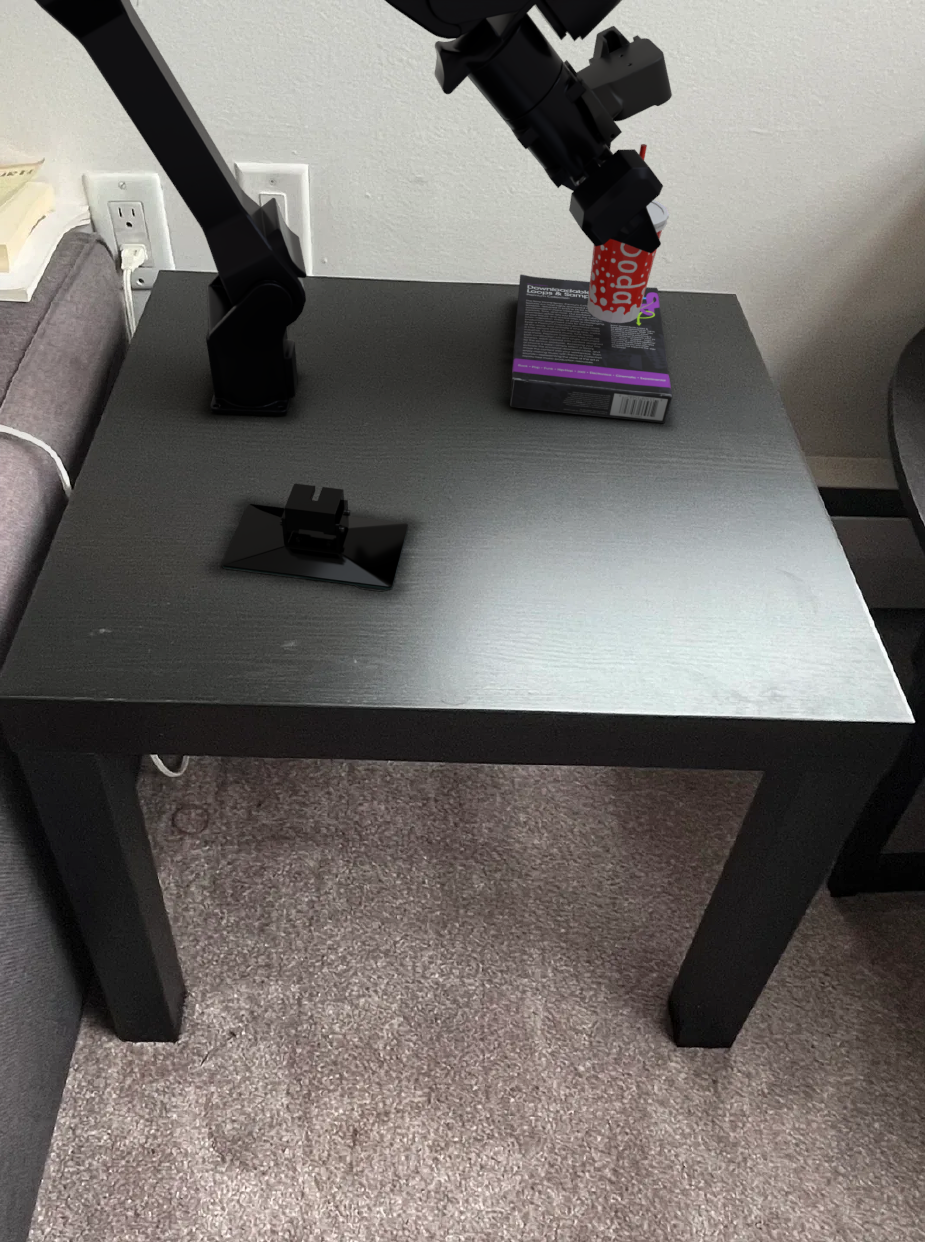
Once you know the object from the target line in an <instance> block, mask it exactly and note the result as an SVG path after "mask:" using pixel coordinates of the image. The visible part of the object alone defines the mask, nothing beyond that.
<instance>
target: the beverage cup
mask: <svg viewBox="0 0 925 1242" xmlns="http://www.w3.org/2000/svg"><path fill="white" fill-rule="evenodd" d="M647 146H648V145H647V144H646V143H641V144H640V147H639V153H638V154H639V155H640V156H641V158H642V159H643V160H644V161H645V158H646V152H647ZM646 207H647V210H648V212H649V215H650V217H651V220H652V222H653V225H654V227H655V230H656V232H657V235H658V237H659V240H661V235H662V233H663V230H665V228H666V226H667V224H668V220H669V218H670V213H669V210H668V208H667V206H665V205H664V204H662V203H661V202H660V201H658V200H656V199H654V200H653V201H652V202H651V203H650V204H649V205H647V206H646ZM592 246H593V247H592V258H591V268H590V278H589V282H590V286H589V296H588V311H589V312H590V313H591V314H592V315H593V316H594V317H596V318H598V319H600V320H603V321H607V322H611V323H625V322H630V321H632V320H634V319H636V318H637V316H638V315H639V312H640V309H641V305H642V301H643V298H644V294H645V290H646V287H647V286H648V283H649V279H650V276H651V272H652V269H653V264H654V261H655V257H656V254H657V250H658V248H657V249H656V250H655V251H654V252H652V253H648V252H645V251H643V250H640V249H637V248H635V247H632V246H629V245H627V244H624V243H621V242H618V241H615V240H612V239H610V240H608V241H607V242H606V243H605V244H604V245H600V246H595V245H594V244H593V245H592Z"/></svg>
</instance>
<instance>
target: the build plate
mask: <svg viewBox="0 0 925 1242" xmlns="http://www.w3.org/2000/svg"><path fill="white" fill-rule="evenodd" d="M315 493H316V486H315V485H310V484H304V483H303V484H302V483H293V486H292V488H291V491H290V493H289V496H288V497H287V500H286V503H285V505H284V507H279V506H272V505H271V506H270V505H263V504H255V503H249V504H247V506H246V508H245V510H244V512H243V515H242V517H241V519H240V522H239V524H238V526H237V528H236V530H235V533H234V534H233V537H232V539H231V542H230V543H229V546H228V549H227V551H226V552H225V555H224V556H223V557H224V558H223V559H222V561H221V566H222V568H223V569H227V570H233V571H239V572H241V571H242V572H250V573H256V574H264V575H265V574H266V575H272V576H280V577H288V578H296V579H303V580H312V581H320V582H327V583H335V584H343V585H349V586H350V585H351V586H355V587H357V588H358V589H360V590H368V591H375V592H384V591H388V590H393V589H394V584H395V581H396V578H397V577H396V576H397V573H398V570H399V569H398V568H399V565H400V561H401V558H402V553H403V550H404V545H405V542H406V538H407V534H408V531H409V524H408V523H406V522H399V521H391V520H383V519H376V518H375V519H374V518H367V517H359V516H351V509H349V500H348V499H345V490H344V489H343V488H335V487H327V486H322V488H321V490H320V493H319V496H318V498H317V500H313V498H314V495H315Z"/></svg>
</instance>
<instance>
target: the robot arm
mask: <svg viewBox="0 0 925 1242" xmlns="http://www.w3.org/2000/svg"><path fill="white" fill-rule="evenodd" d="M34 1H35V2H36V4H37V5H38V6H39V7H40V8H41V9H42V10H44V12H45V13H47V14H48V16H50V17H51V18H52V19H53V20H54V21H56V22H57V23H58V24H59V25H60V26H62V27H63V28H64V29H65V30H66V31H67V32H68V33H69V34H70V35H72V36H73V37H74V38H75V39H76V40H77V41H78V42H79V43H80V45H81V46H82V47H83V48H84V50H85V51H86V53H87V55H88V56H89V57H90V59H91V61H92V62H93V63H94V65H95V66H96V68H97V70H98V71H99V73H100V74H101V76H102V77H103V79H104V80H105V82H106V84H107V85H108V87H109V88H110V90H111V92H112V93H113V95H114V96H115V98H116V99H117V100H118V102H119V104H120V106H121V107H122V108H123V110H124V112H125V113H126V114H127V116H128V118H129V119H130V120H131V122H132V123H133V125H134V127H135V129H136V130H137V131H138V133H139V134H140V136H141V137H142V139H143V140H144V142H145V144H146V145H147V147H148V148H149V150H150V151H151V153H152V154H153V155H154V158H155V159H156V160H157V162H158V164H159V165H160V167H161V168H162V170H163V171H164V173H165V174H166V176H167V178H168V179H169V180H170V182H171V183H172V185H173V187H174V188H175V189H176V191H177V193H178V194H179V196H180V197H181V199H182V201H183V202H184V204H185V205H186V207H187V208H188V210H189V211H190V212H191V214H192V216H193V217H194V219H195V220H196V222H197V223H198V225H199V227H200V228H201V230H202V232H203V235H204V237H205V240H206V242H207V245H208V248H209V251H210V254H211V258H212V260H213V262H214V266H215V268H216V271H217V273H216V274H215V275H214V276H213V278H211V279H210V281H209V282H208V283H207V284H206V305H207V321H208V322H207V323H208V324H207V325H208V328H207V332H206V336H205V343H206V348H207V349H206V351H207V355H208V361H209V370H210V376H211V382H212V388H213V395H212V399H211V402H210V405H209V406H210V411H211V412H212V413H214V414H230V415H231V414H232V415H233V414H234V415H261V416H285V415H288V413H289V409H290V405H291V399H293V398H295V397H296V393H297V387H298V383H299V377H298V366H297V365H298V364H297V353H296V342H295V341H294V340H293V339H289V337H288V328H289V326H290V325H292V324H293V323H295V322H296V321H297V320H298V319H299V317H300V316H301V315H302V313H303V311H304V307H305V303H306V302H307V298H306V289H305V285H304V280H303V279H305V278H307V276H308V275H307V269H306V265H305V259H304V255H303V250H302V245H301V239H300V237H299V235H298V234H296V233H295V232H294V231H293V230H291V228H290V227H289V225H287V223H286V221H285V220H284V217H283V214H282V211H281V209H280V206H279V203H278V201H277V199H276V198H275V197H272V198H270V199H269V200H268V201H266V202H265V203H264V204H263V205H262V206H261V205H259V204H258V203H257V202H256V201H255V200H254V199H253V198H251V197H250V195H248V194H247V193H246V192H245V191H244V189H243V188H242V187H241V185H240V184H239V182H238V180H237V179H236V177H235V175H234V174H233V172H232V170H231V169H230V167H229V166H228V164H227V162H226V160H225V159H224V157H223V155H222V153H221V152H220V150H219V149H218V147H217V145H216V143H215V142H214V140H213V139H212V137H211V135H210V133H209V131H208V130H207V129H206V127H205V125H204V124H203V122H202V120H201V119H200V117H199V115H198V114H197V112H196V110H195V109H194V107H193V105H192V103H191V102H190V100H189V98H188V97H187V95H186V92H184V90H183V89H182V87H181V85H180V82H178V80H177V78H176V77H175V75H174V73H173V72H172V70H171V68H170V66H169V65H168V64H167V62H166V59H165V58H164V57H163V55H162V53H161V51H160V49H159V48H158V46H157V45H156V43H155V42H154V40H153V38H152V36H151V35H150V33H149V32H148V31H149V30H147V28H146V26H145V25H144V23H143V21H142V19H141V18H140V16H139V14H138V13H137V11H136V10H135V8H134V6H133V4H132V1H131V0H34ZM622 1H623V0H384V2H386V3H387V4H388V5H389V6H391V7H392V8H394V9H395V10H396V11H398V12H399V13H401V14H402V15H403V16H405V17H407V18H408V19H409V20H410V21H413V23H415V24H417V25H418V26H419V27H421V28H422V29H424V30H426V31H427V32H428V33H430V34H432V35H433V36H434V37H437V38H440V39H447V40H449V41H442V40H437V41H435V43H434V49H435V54H436V59H435V68H434V73H433V75H434V77H435V79H436V81H437V83H438V84H439V87H440V88H441V90H442V93H444V94H446V95H451V94H452V93H453V92H455V90H456V89H457V88H458V87H459V86H460V85H461V84H462V82H464V81H465V79H466V78H468V79H469V81H470V82H471V83H472V84H473V85H474V86H475V87H476V89H477V90H478V91H479V92H480V93H481V95H482V97H484V99H486V101H487V102H488V103H489V104H490V106H491V107H492V108H493V109H494V110H495V112H496V113H497V114H498V115H499V116H500V117H501V119H502V121H504V122H505V123H506V125H507V126H508V128H509V129H510V130H511V132H512V133H513V135H514V137H515V138H516V139H517V141H518V142H519V143H520V144H521V146H522V147H523V149H525V150H528V151H529V153H530V154H531V155H532V156H533V158H534V159H535V160H536V161H537V162H538V163H539V164H540V166H541V167H542V168H543V170H544V172H545V173H546V174H547V176H548V178H549V180H551V182H552V183H553V184H554V185H555V187H556V188H557V189H559V188H561V186H563V187H565V188H567V189H568V190H570V191H572V192H571V195H570V200H569V208H568V211H569V213H570V214H571V216H572V217H573V219H574V221H575V222H576V223H577V225H578V227H579V228H580V230H581V231H582V232H583V234H584V235H585V236H586V237H587V238H588V240H589V241H590V242H591V243H592V244H593V246H594V245H595V246H600V245H604V244H605V243H606V242H607V241H608V240H610V239H612V240H615V241H618V242H621V243H624V244H627V245H629V246H632V247H635V248H637V249H640V250H643V251H645V252H648V253H652V252H654V251H655V250H656V249H657V250H658V249H659V248H660V247H661V245H662V243H661V239H659V237H658V235H657V232H656V230H655V227H654V225H653V222H652V220H651V217H650V215H649V212H648V210H647V207H646V206H647V205H649V204H650V203H651V202H652V201H653V200H656V199H657V198H658V197H659V196H660V194H661V193H662V190H663V187H664V185H663V183H662V182H661V181H660V179H659V178H658V176H657V175H656V174H655V172H654V171H653V170H652V168H651V167H650V166H649V165H648V163H647V162H646V161H645V159H644V160H643V159H642V158H641V156H640V155H639V153H638V152H637V150H636V149H635V148H634V149H629V148H627V149H617V150H616V151H615V152H614V153H613V152H612V150H611V147H612V146H611V145H612V142H613V141H615V140H616V139H617V138H618V137H619V136H620V135H621V134H622V132H623V131H622V129H620V127H619V126H618V124H617V123H616V122H621V121H622V122H623V121H625V120H627V119H629V118H631V117H633V116H635V115H637V114H640V113H642V112H644V111H646V110H647V109H650V108H652V107H654V106H656V107H660V106H662V105H664V104H666V103H667V102H669V100H671V98H672V96H673V93H672V88H671V84H670V79H669V73H668V69H667V63H666V59H665V54H664V52H663V51H662V49H660V48H659V46H657V45H656V44H655V43H654V42H653V41H652V40H651V39H649V38H646V37H644V38H641V37H640V36H639V35H638V34H637V35H635V36H633V37H632V41H631V42H630V41H629V40H628V38H627V37H626V36H625V35H624V34H623V33H622V32H621V31H620V30H619V29H618V28H617V27H616V26H615V25H612V26H610V27H607V28H605V29H604V30H601V31H599V32H597V33H596V36H595V38H596V39H595V43H594V48H593V54H592V57H591V58H589V59H588V64H589V65H587V66H585V67H583V68H582V69H580V70H578V71H576V69H574V67H573V65H572V64H571V63H570V62H569V60H567V59H566V60H565V61H564V60H563V59H562V58H561V57H560V55H559V53H557V51H556V50H555V48H554V47H553V45H551V43H550V42H549V40H548V39H547V37H546V36H545V34H544V33H543V32H542V31H541V29H540V28H539V27H538V25H537V24H536V23H535V21H534V20H533V18H532V17H531V16H530V14H528V13H529V12H530V11H531V10H532V9H533V7H534V8H535V9H536V11H538V13H539V14H540V15H541V17H542V18H543V19H544V21H545V22H546V24H547V25H548V26H549V28H550V29H551V30H552V31H553V33H554V34H555V35H556V37H557V38H558V39H559V40H560V41H563V40H564V39H565V37H566V36H567V34H568V36H570V38H571V39H572V41H573V42H576V41H577V40H578V39H580V40H581V41H584V40H585V38H587V37H588V36H589V34H590V33H592V32H593V30H594V29H596V27H598V25H600V24H601V22H602V21H603V20H605V19H606V17H607V16H609V14H610V13H612V11H613V10H614V9H615V8H616V7H617V6H619V4H621V2H622ZM657 250H656V251H657Z"/></svg>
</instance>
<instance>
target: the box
mask: <svg viewBox="0 0 925 1242" xmlns="http://www.w3.org/2000/svg"><path fill="white" fill-rule="evenodd" d="M589 286H590V281H584V280H573V279H561V278H552V277H540V276H539V277H538V276H531V275H526V274H520V275H519V283H518V293H517V294H518V295H517V296H518V297H517V308H516V317H515V319H516V322H515V333H514V343H513V344H514V346H513V355H512V369H511V383H510V397H509V399H510V401H509V406H510V407H511V408H518V409H527V410H538V411H547V412H557V413H564V414H573V415H583V416H592V417H593V416H594V417H602V418H604V417H605V418H610V419H611V418H612V419H613V418H614V419H622V420H623V419H624V420H631V421H632V420H633V421H641V422H642V421H643V422H652V423H660V424H665V423H666V420H667V418H668V417H667V416H668V414H669V410H670V406H671V403H672V399H673V391H672V388H671V387H672V386H671V379H670V375H669V374H670V372H669V366H668V359H667V351H666V344H665V334H664V329H663V321H662V313H661V304H660V294H659V289H658V287H646V290H645V294H644V298H643V301H642V305H641V309H640V312H639V315H638V316H637V318H636V319H634V320H632V321H630V322H625V323H611V322H607V321H603V320H600V319H598V318H596V317H594V316H593V315H592V314H591V313H590V312H589V311H588V296H589Z"/></svg>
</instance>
